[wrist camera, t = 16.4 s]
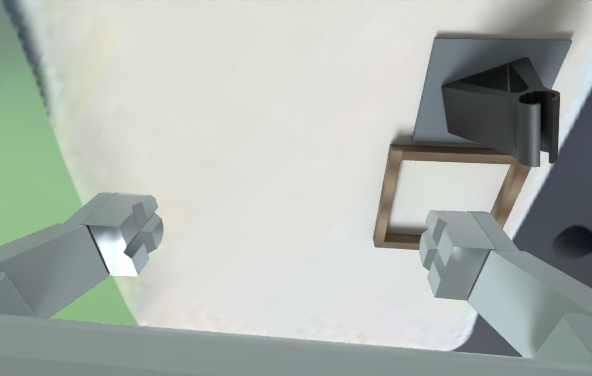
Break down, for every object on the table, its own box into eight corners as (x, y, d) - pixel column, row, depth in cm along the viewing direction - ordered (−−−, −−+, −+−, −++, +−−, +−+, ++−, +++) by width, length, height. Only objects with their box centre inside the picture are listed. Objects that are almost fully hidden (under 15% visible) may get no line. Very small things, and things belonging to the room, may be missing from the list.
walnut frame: (390, 144, 41) (392, 151, 39) (527, 149, 39) (536, 156, 38) (373, 238, 49) (374, 247, 48) (485, 245, 48) (490, 254, 46)
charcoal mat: (434, 38, 34) (435, 39, 33) (568, 40, 33) (572, 40, 32) (411, 139, 40) (413, 141, 39) (524, 143, 39) (526, 145, 38)
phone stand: (446, 131, 38) (490, 179, 28) (440, 85, 36) (485, 120, 25) (526, 107, 36) (605, 150, 26) (526, 56, 33) (614, 82, 23)
